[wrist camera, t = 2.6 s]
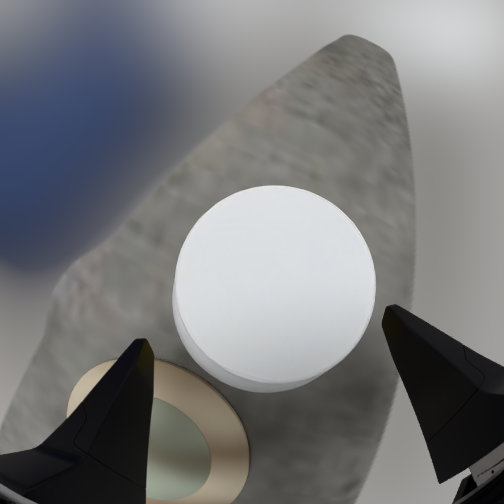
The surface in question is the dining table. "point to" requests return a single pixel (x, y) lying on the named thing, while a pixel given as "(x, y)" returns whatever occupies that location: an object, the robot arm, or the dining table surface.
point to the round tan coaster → (186, 438)
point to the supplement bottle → (272, 289)
